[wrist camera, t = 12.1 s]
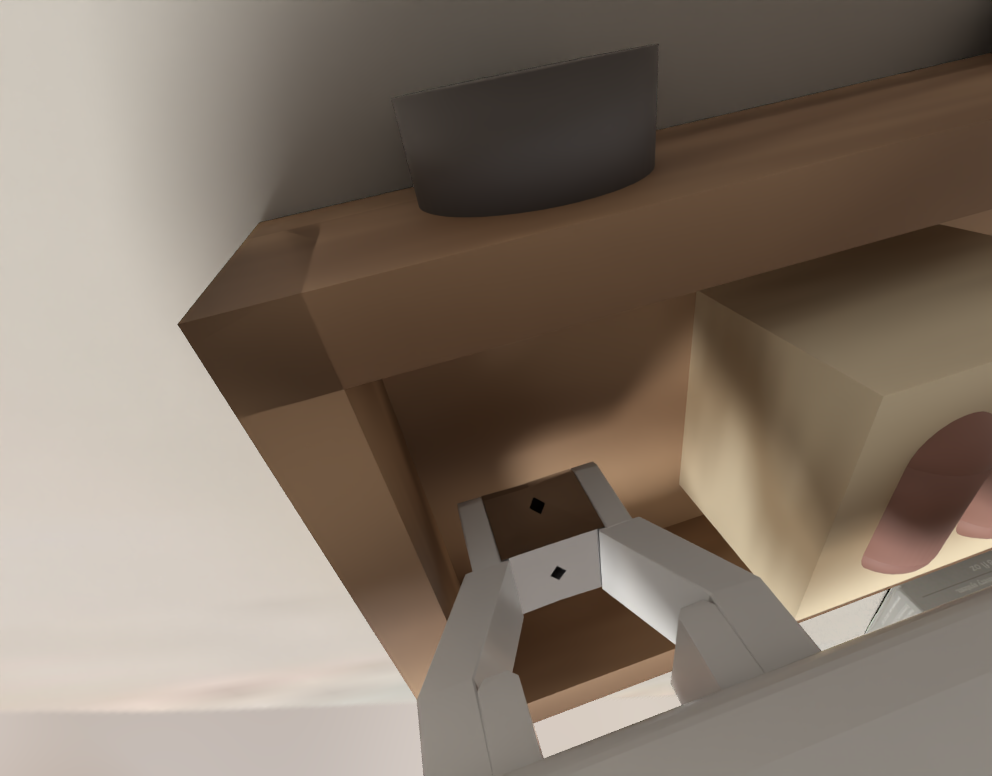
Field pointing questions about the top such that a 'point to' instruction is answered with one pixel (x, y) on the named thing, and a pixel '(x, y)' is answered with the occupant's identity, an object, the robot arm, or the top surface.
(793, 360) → the block
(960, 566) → the skincare box
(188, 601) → the top surface
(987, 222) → the cart bed
